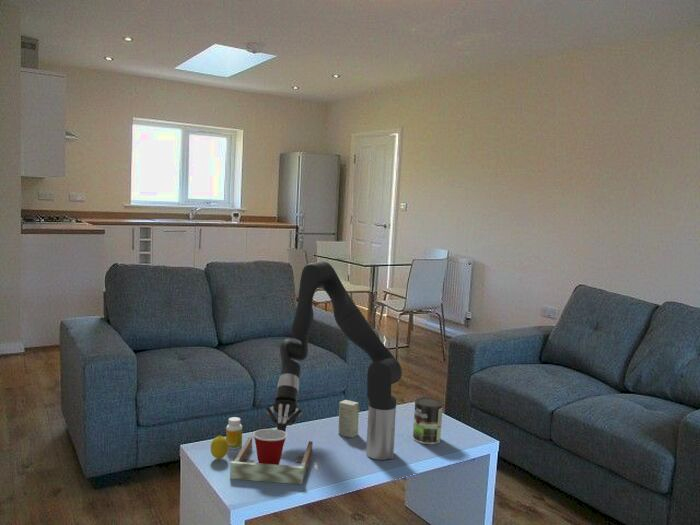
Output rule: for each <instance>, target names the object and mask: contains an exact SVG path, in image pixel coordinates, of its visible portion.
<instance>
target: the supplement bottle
mask: <svg viewBox="0 0 700 525" xmlns="http://www.w3.org/2000/svg"><path fill="white" fill-rule="evenodd" d="M225 432H226V433H225V434H226V435H225V439H226V440H227V443H228V450H229V449H230V450H238V449H240V448H242V447H243V445H242V444H243V425H242V424H241V418H240V417H237V416H233V417H229V418H228V424H227V425H226V429H225Z"/></svg>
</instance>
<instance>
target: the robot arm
mask: <svg viewBox="0 0 700 525" xmlns="http://www.w3.org/2000/svg"><path fill="white" fill-rule="evenodd" d="M320 288H322V290H324V291H325V293H326V294H327V296H328V297H329V298H330V300H331V303H332V310H333V318H334V320H335V322H336V324H337V325H338V328H339V329H340V331H341V332H342V333H343V334H344V336H345V337H346V338H347V340H349V341H350V342H351V343H353V344H354V345H356V346H357V347H358V348H360V349H361V350H362V351H363V352H364V353H365V354H366V355H367V356H368V357H369V358H370V360H371V361H372V362H371V364H369V366H368V369H367V373H366V395H367V399H368V412H367V416H368V417H367V430H366V432H367V433H366V447H365V449H366V452H365V453H366V456H367V457H368V458H370V459H374V460H378V461H383V460H385V461H386V460H393V459H394V451H395V436H396V414H397V413H396V412H397V411H396V410H397V398H396V396H393V395H392V386H393V385H394V384H396V383H397V382H399V381H400V380H401V379H402V375H403V369H402V367H401V365H400V362H399V360H397V357H395V356H394V355H393V354H392V352H391V351H390V350H389V349H388V348H387V347H386V346H385V344H384V343H383V342H382V340H381V339H380V337H379V336H378V335H377V334H376V331H374V329H373V328H372V326H371V325H370V323H369V321H368V320H367V319H366V317H365V316H364V314H363V313H362V311H361V310H360V309H359V307H358V306H357V305H356V302H354V300H353V299H352V297H351V296H350V294H349V293H348V291H347V290H346V288H345V286H344V285H343V283H342V281H341V280H340V278H339V275H338V274H337V272H336V269H334V267H333V266H332V265H331V264H330V263H328V262H327V261H322V260H321V261H316V262H310V263H307V264H306V265H304V266H303V269H302V271H301V275H300V282H299V289H298V295H297V296H298V298H297V304H296V309H295V313H294V317H293V319H292V323H291V327H290V331H289V332H290V335H291V336H292V337H293V338H295V339H297V340H295V339H290V338H285V339H284V340H282V341H281V343H280V345H279V354H280V360H281V367H280V368H281V369H280V375H279V378H278V382H277V388H276V392H275V393H276V394H275V398H274V399H275V401H274V402H273V404H272V406H270V407H266V408H265V409H266V413H267V415H268V417H270V420H271V421H272V423H273V424H274V425H276V426H277V427H276V430H281V431H284V432H286V431H287V427H288V426H293V424H294V423H295V422H296V421H297V420H298V419H299V418H301V416H302V415H303V411H302V410H301V409H299V408H298V405H297V402H298V395H299V390H300V388H299V387H300V375H301V365H300V364H299V363H298V362H297V361H300V362H301V361H302V362H303V361H305V359H306V358H307V356H308V354H309V347H308V346H309V335H310V332H311V329H312V326H313V322H314V309H313V299H314V296H315V294H316V291H317V289H320ZM274 412H275V413H276V415H277V418H276V415H274Z"/></svg>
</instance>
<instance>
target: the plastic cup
mask: <svg viewBox="0 0 700 525" xmlns="http://www.w3.org/2000/svg"><path fill="white" fill-rule="evenodd" d="M252 436H253V438H254V441H255V442H254V443H255V450H256V455H257V463H262V464H275V465H280V462H281V459H282V454H283V450H284V445H285V441H286V439H287V437H288V432H286V431H285V432H284V431H281V430H277V428H276V429H275V428H262V429H258V430H255V431H253V433H252Z"/></svg>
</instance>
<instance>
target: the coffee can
mask: <svg viewBox="0 0 700 525" xmlns="http://www.w3.org/2000/svg"><path fill="white" fill-rule="evenodd" d="M443 409H444V402H443V401H442V400H440V399H438V398H434V397H426V396H425V397H418V398H416V399H415V400H414V417H413V430H412V439H413V440H414V441H415V442H416V443H419V444H423V445H437V444H439V443H440V442H441V435H442V434H441V432H442V421H443Z"/></svg>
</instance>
